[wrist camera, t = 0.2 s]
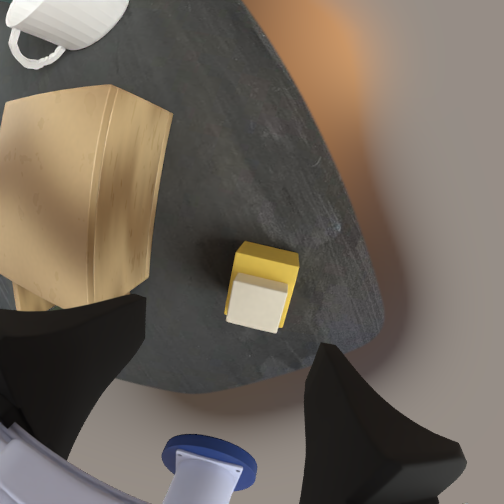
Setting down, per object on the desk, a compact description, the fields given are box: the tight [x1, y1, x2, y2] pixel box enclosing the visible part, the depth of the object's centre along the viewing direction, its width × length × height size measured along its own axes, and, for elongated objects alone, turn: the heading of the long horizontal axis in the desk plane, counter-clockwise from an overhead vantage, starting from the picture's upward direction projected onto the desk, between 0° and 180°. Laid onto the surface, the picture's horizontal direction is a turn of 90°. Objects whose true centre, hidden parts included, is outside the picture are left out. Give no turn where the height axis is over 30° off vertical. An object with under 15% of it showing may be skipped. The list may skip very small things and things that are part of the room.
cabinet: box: [0, 84, 173, 309], centre depth 17 cm, size 13×11×8 cm
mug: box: [6, 0, 129, 69], centre depth 13 cm, size 12×9×9 cm
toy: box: [224, 241, 299, 333], centre depth 19 cm, size 4×4×5 cm
